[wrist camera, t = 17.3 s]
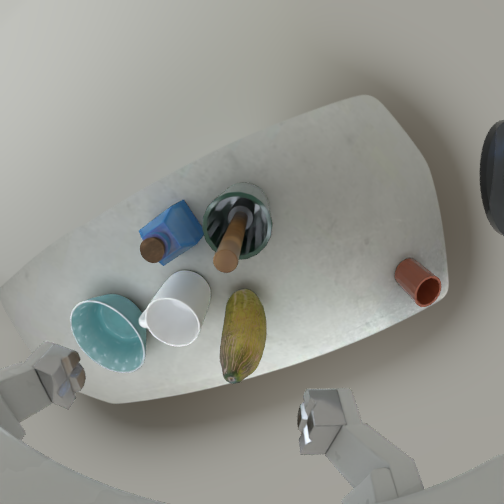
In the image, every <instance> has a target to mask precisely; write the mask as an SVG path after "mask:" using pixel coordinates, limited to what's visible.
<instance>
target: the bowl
mask: <svg viewBox="0 0 504 504" xmlns="http://www.w3.org/2000/svg"><path fill="white" fill-rule="evenodd" d="M141 314H142V312H141V311H140V310H139V308H138V307H137V306H136V305H135V304H134V303H133V302H132V301H130V300H129V299H127V298H125V297H123V296H121V295H117V294H107V295H103V296H99V297H95V298H91V299H88V300H85V301H82V302H80V303H78V304H77V305H76V306H75V307H74V308H73V310H72V313H71V317H70V325H71V330H72V333H73V336H74V338H75V340H76V342H77V343H78V345H79V346H80V348H81V349H82V350H83V351H84V353H85V354H86V355H87V356H88V357H89V358H91V359H92V360H93V361H94V362H96V363H97V364H99V365H100V366H102V367H104V368H106V369H108V370H111V371H114V372H119V373H130V372H134V371H136V370H138V369H139V368H140V367H141V366H142V365H143V363H144V360H145V353H146V329H147V328H143V327H141V326H140V324H139V318H140V316H141Z"/></svg>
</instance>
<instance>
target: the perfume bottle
mask: <svg viewBox="0 0 504 504" xmlns="http://www.w3.org/2000/svg"><path fill="white" fill-rule="evenodd" d="M139 233H140V235H141V238H142V239H143V242H142V243H141V245H140V252H141V255H142V257H143V258H144V259H145V260H146V261H148V262H151V263H157V262H159V263H160V264H162V265H163V266H164V265H166V264H167V263H169V262H170V261H172V260H173V259H175V258H176V257H178V256H179V255H181V254H182V253H184V252H185V251H187V250H188V249H190V248H191V247H193V246H195V245H196V244H197V243H198V242H199V241H200V239H201V238H202V236H203V235H204V233H203V229H202V226H201V225H200V223H199V222H198V220H197V219H196V217H195V216H194V214H193V213H192V211H191V210H190V208H189V207H188V206H187V204H186V203H185V201H184V200H182V201H180V202H178V203H176V204H175V205H173V206H171V207H170V208H168V209H167V210H165V211H164V212H163V213H161V214H160V215H159V216H157V217H156V218H155V219H153V220H152V221H151V222H149V223H148V224H147V225H145V226H144V227H143V228H142V229H140V230H139Z"/></svg>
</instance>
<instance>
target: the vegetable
mask: <svg viewBox="0 0 504 504" xmlns="http://www.w3.org/2000/svg"><path fill="white" fill-rule="evenodd" d="M265 341H266V317H265V312H264V308H263V306H262V304H261V302H260V300H259V298H258V297H257V295H256V294H255V293H254V292H252V291H251V290H248V289H242V290H238V291H236V292H234V293H233V294H232V296H231V297H230V298H229V300H228V302H227V305H226V311H225V319H224V326H223V332H222V339H221V346H220V363H221V366H222V371H223V376H224V379H225V380H226V381H227V382H229V383H239V382H240V381H242V380H243V379H244V378H246V377H247V376H249V375H250V374H252V373H253V372H254V371H255V370H256V368H257V366H258V364H259V362H260V360H261V358H262V354H263V350H264V347H265Z"/></svg>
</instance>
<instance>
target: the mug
mask: <svg viewBox="0 0 504 504" xmlns="http://www.w3.org/2000/svg"><path fill="white" fill-rule="evenodd" d="M210 300H211V291H210V287H209V285H208V283H207V282H206V280H205V279H204V278H203V277H202V276H200V275H199V274H197V273H195V272H192V271H178V272H176V273H174V274H172V275H171V276H170V277H169V278H168V279H167V280H166V281H165V283H164V284H163V286H162V287H161V288H160V290H159V291H158V292H157V294H156V295H155V297H154V298H153V299H152V301H151V302H150V304H149V305H148V306H147V308H146V310H145V311H144V312H143V313H142V314H141V316H140V318H139V324H140V326H141V327H143V328H148V329H149V331H150V332H151V334H152V335H153V336H154V337H155V338H157V339H158V340H159V341H161V342H163V343H165V344H167V345H171V346H186V345H189V344H191V343H192V342H194V341H195V340H196V339H197V337H198V335H199V333H200V330H201V327H202V324H203V321H204V318H205V315H206V312H207V309H208V307H209V304H210Z"/></svg>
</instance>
